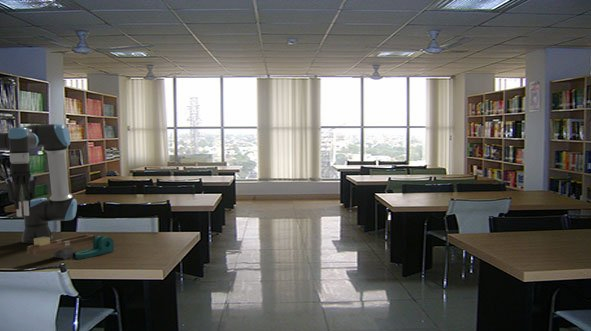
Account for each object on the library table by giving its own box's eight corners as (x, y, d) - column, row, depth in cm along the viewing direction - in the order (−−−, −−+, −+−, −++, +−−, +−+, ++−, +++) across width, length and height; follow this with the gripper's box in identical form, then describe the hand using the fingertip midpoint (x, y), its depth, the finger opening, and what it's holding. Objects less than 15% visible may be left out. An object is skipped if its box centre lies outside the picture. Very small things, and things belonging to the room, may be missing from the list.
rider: (34, 249, 223) (33, 238, 223) (44, 247, 227) (44, 236, 227) (39, 250, 221) (39, 239, 221) (50, 248, 225) (49, 237, 225)
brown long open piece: (26, 263, 223) (25, 246, 222) (85, 249, 248) (84, 234, 248) (38, 265, 218) (37, 248, 217) (96, 251, 243) (95, 235, 243)
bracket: (105, 250, 246) (104, 234, 246) (113, 251, 243) (113, 236, 242) (72, 258, 231) (71, 241, 231) (80, 259, 228) (80, 243, 227)
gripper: (6, 164, 206) (9, 219, 208) (42, 161, 219) (44, 213, 221) (-4, 163, 210) (0, 218, 212) (32, 161, 223) (35, 212, 225)
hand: (23, 215), depth 216 cm, fingers open, 3 cm apart
